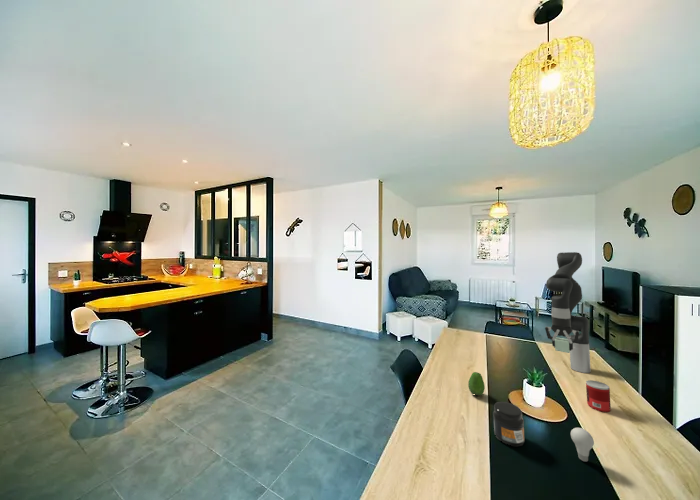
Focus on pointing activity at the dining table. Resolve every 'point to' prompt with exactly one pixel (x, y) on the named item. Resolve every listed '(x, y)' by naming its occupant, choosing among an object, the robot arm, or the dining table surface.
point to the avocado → (476, 384)
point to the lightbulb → (582, 442)
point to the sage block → (562, 345)
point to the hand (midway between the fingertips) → (562, 348)
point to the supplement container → (508, 424)
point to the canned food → (598, 396)
